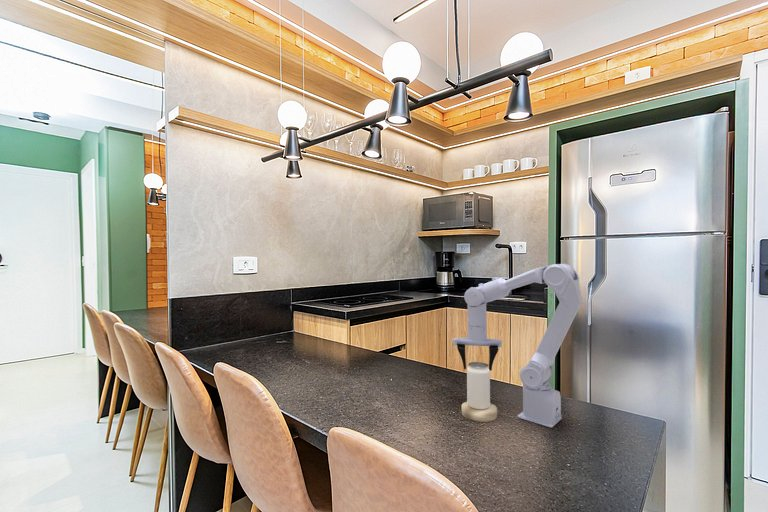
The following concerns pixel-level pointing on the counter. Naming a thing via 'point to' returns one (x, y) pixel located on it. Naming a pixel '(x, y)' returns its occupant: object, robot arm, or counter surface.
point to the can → (478, 385)
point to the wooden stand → (479, 413)
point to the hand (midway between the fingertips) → (477, 368)
